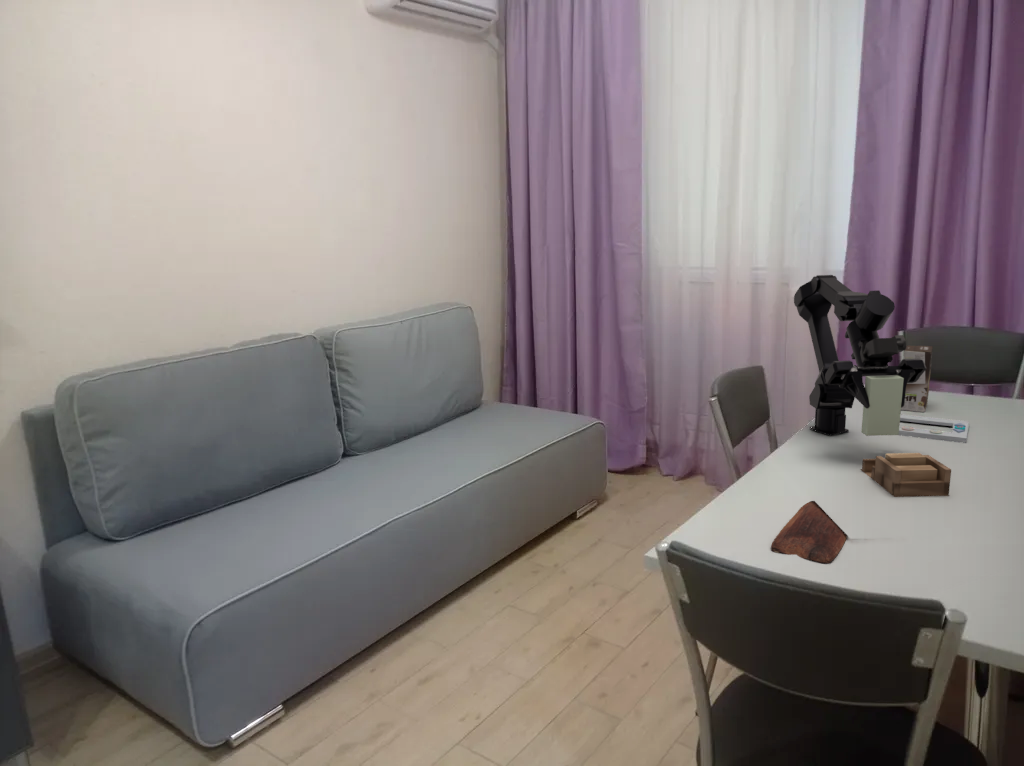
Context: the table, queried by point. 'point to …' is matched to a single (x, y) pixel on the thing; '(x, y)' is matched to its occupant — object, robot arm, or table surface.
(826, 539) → the wooden tablet
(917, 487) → the offcut rack
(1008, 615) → the table surface
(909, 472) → the small oak offcut
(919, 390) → the coffee box
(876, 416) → the tall board
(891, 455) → the oak offcut
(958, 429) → the electronic device
